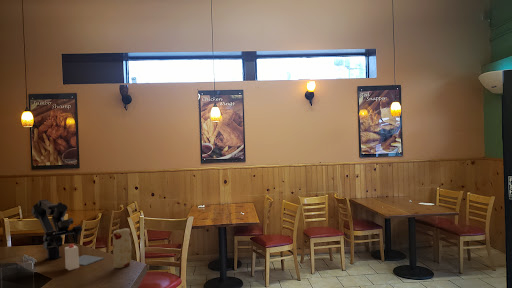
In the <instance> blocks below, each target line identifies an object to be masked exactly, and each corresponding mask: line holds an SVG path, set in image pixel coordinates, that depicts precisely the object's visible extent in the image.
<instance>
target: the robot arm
mask: <svg viewBox="0 0 512 288" xmlns="http://www.w3.org/2000/svg"><path fill="white" fill-rule="evenodd" d="M67 211H68V205H67V204H65V203H62V201H61V202H57V203H52V202H51V201H49V200H48V199H40V200H38V201H37V202H36V203H35V204H33V206H32V208H31V215H33V217H34V219H36V220H38V221H39V223H40V225H41V226H42V229H43V231H44V234H43V237H42V240H43V245H42V246H43V249H45V250H46V252H47V253H46V255H47V257H44V259H45V260H48V261H49V260H50V261H53V260H56V259H59V258H62V255H60V254H61V253H60V247H62V246H63V243H64V242H63V240H64V238H63V236H66V235H70V234H71V235H72V239H73V241H74V244H75V246H77V245H78V237H79V235H81V233H82V231H83V227H82V225H76V226H73V227H72V229H70V226H71V225H73V224H74V220H73V217H70V218H68V219H65V218H64V217H65V216H66V214H67ZM50 216H51V221H50V218H49V217H50ZM52 224H53V225H52Z"/></svg>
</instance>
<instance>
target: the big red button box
mask: <svg viewBox="0 0 512 288" xmlns="http://www.w3.org/2000/svg"><path fill="white" fill-rule="evenodd" d="M74 244H75V243H70V244H68V246H66V247H64V261H65V262H64V263H65V269H66V270H67V271H73V270H77V269H79V268H80V265H79V257H80V256H79V255H80V253H79V246H77V245H76V244H75V245H74Z"/></svg>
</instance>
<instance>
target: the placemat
mask: <svg viewBox="0 0 512 288" xmlns="http://www.w3.org/2000/svg"><path fill="white" fill-rule="evenodd" d="M101 260H105V258H104V257H100V256H95V255H94V256H93V255H87V254H84V255H81V256H79V266H85V267H86V266H89V265H92V264H95V263H97V262H99V261H101Z"/></svg>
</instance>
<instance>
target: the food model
mask: <svg viewBox="0 0 512 288" xmlns="http://www.w3.org/2000/svg"><path fill="white" fill-rule="evenodd" d="M112 253H113V254H112V255H113V267H114V268H116V269H121V268H125V267H128V266H130V265H131V262H132V238H131V230H130V228H121V229H116V230H114V231H113V233H112Z"/></svg>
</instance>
